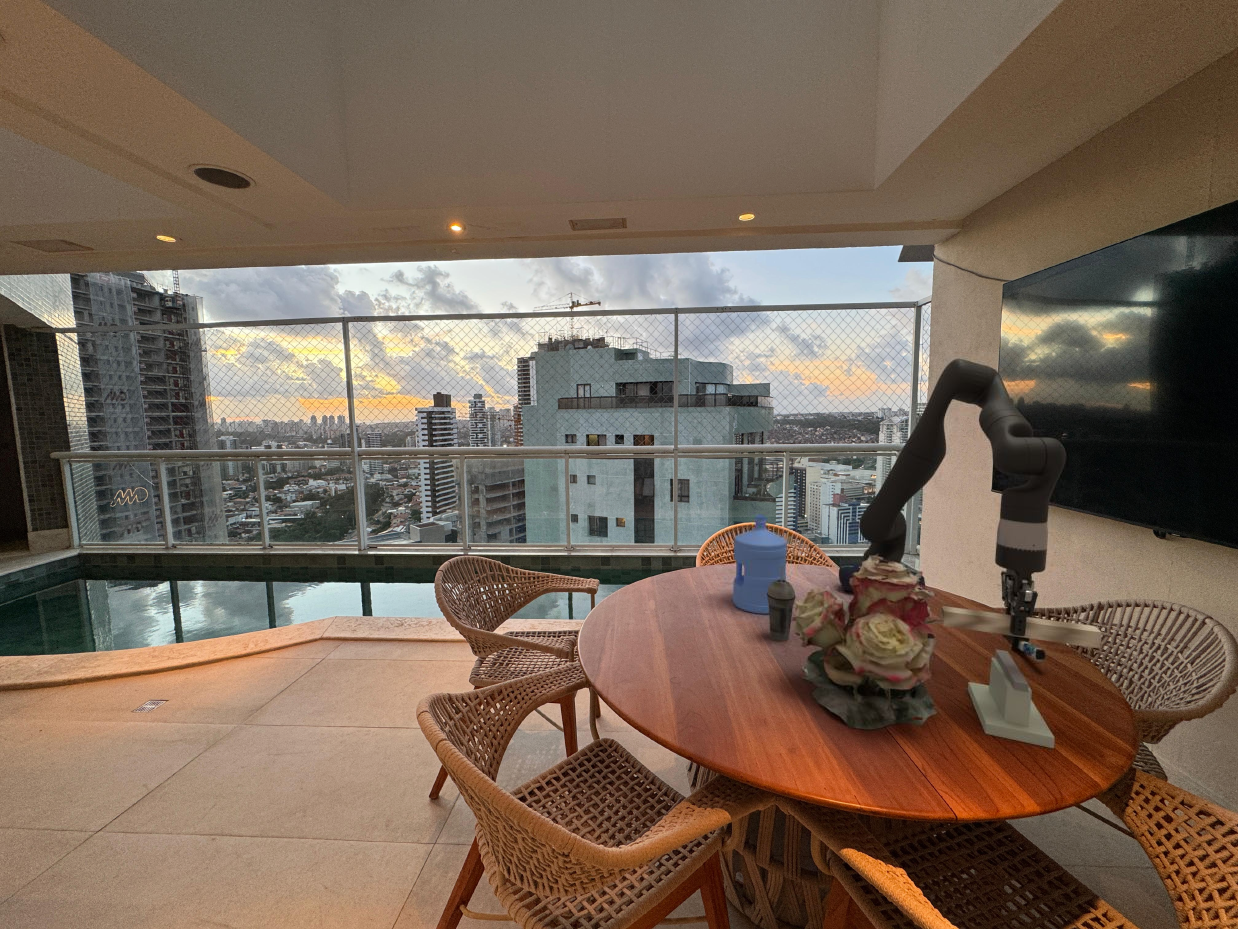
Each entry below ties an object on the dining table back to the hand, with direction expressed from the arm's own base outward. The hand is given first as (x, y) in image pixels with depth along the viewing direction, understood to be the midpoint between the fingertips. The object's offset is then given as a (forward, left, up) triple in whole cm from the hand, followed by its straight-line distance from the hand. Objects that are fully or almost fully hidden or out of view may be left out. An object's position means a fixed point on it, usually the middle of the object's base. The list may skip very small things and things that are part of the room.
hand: (1014, 630), depth 97 cm
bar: (0, 0, -1) cm, 1 cm away
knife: (+10, +38, -18) cm, 43 cm away
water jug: (-54, +39, -18) cm, 69 cm away
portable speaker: (-20, +63, -18) cm, 69 cm away
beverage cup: (-45, +18, -18) cm, 52 cm away
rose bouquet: (-25, -4, -18) cm, 31 cm away
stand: (0, 0, -18) cm, 18 cm away
